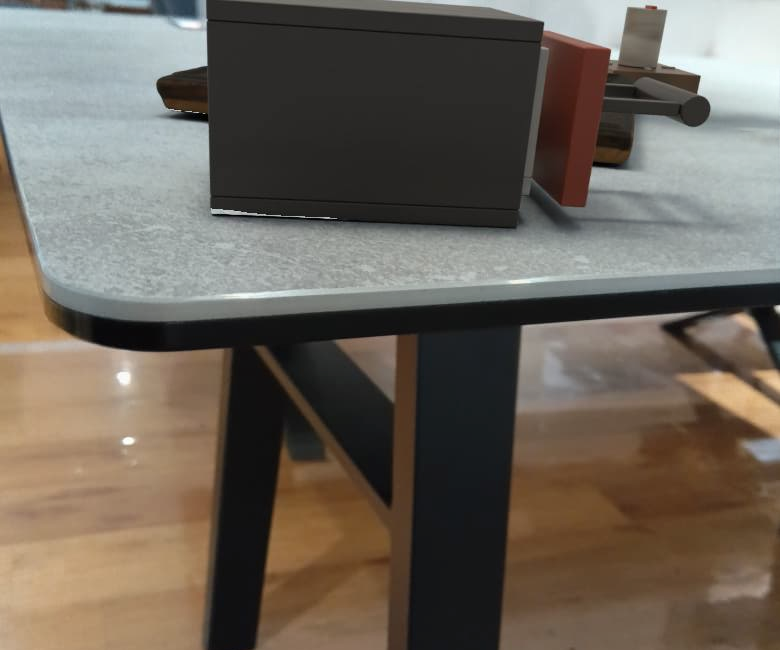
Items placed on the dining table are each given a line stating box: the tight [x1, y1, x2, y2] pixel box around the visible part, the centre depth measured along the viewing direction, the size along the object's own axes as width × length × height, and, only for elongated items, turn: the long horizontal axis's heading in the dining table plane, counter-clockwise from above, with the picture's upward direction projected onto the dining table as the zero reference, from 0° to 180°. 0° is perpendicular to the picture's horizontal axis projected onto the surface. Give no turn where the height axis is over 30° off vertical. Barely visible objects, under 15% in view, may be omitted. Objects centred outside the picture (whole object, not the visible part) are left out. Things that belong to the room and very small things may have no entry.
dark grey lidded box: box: [205, 0, 545, 229], centre depth 42 cm, size 14×12×9 cm
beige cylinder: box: [617, 4, 668, 68], centre depth 91 cm, size 4×4×6 cm
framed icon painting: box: [155, 65, 635, 164], centre depth 71 cm, size 38×35×3 cm
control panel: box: [608, 59, 702, 94], centre depth 93 cm, size 9×12×3 cm
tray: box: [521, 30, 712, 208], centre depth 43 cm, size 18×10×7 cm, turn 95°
